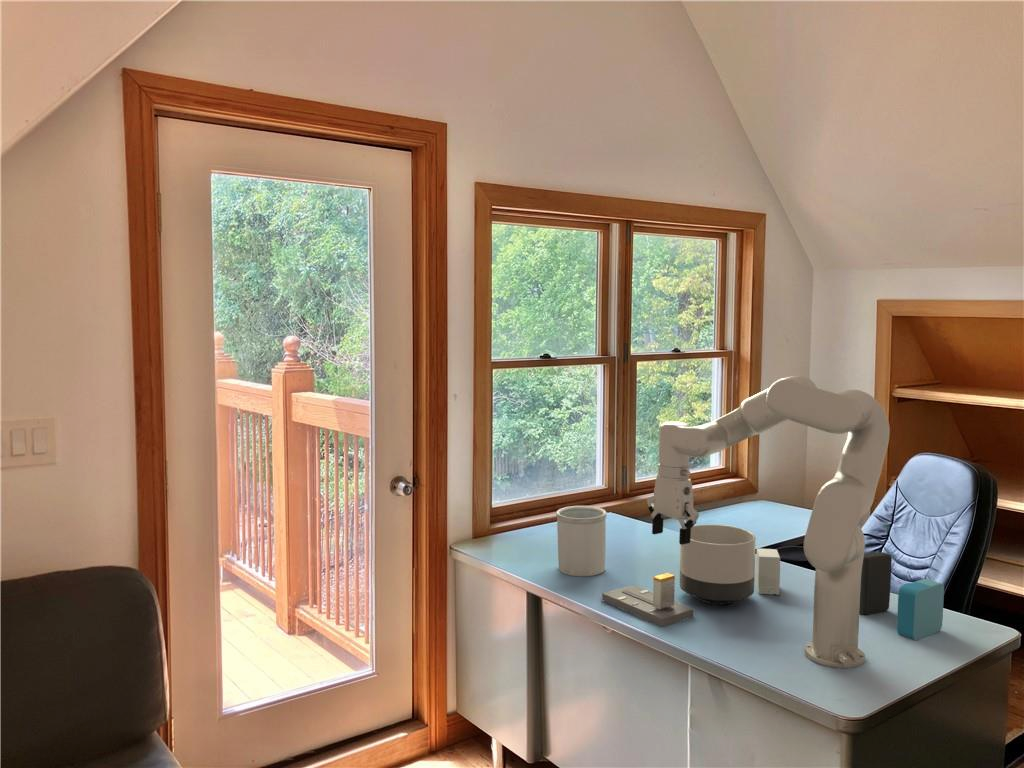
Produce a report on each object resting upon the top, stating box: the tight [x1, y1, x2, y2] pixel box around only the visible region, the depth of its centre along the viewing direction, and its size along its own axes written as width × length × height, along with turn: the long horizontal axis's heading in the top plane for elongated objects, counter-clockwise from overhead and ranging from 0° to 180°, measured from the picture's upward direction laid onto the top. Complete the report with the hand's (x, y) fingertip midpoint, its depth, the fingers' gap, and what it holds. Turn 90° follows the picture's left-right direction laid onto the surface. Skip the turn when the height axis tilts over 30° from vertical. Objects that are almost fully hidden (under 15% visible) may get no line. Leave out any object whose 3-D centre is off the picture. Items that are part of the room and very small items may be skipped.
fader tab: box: [652, 572, 676, 610], centre depth 210 cm, size 2×5×8 cm, turn 126°
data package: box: [896, 578, 945, 641], centre depth 199 cm, size 12×4×12 cm, turn 123°
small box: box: [755, 547, 781, 596], centre depth 229 cm, size 8×6×10 cm
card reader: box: [859, 551, 893, 616], centre depth 213 cm, size 9×4×15 cm, turn 111°
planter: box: [679, 524, 756, 605], centre depth 222 cm, size 19×19×18 cm
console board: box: [601, 584, 695, 628], centre depth 216 cm, size 22×11×2 cm, turn 36°
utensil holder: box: [555, 505, 607, 577], centre depth 246 cm, size 15×15×18 cm
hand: (670, 538), depth 209 cm, fingers open, 9 cm apart
